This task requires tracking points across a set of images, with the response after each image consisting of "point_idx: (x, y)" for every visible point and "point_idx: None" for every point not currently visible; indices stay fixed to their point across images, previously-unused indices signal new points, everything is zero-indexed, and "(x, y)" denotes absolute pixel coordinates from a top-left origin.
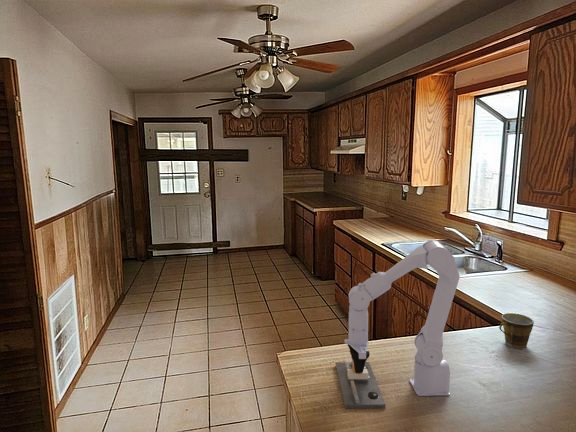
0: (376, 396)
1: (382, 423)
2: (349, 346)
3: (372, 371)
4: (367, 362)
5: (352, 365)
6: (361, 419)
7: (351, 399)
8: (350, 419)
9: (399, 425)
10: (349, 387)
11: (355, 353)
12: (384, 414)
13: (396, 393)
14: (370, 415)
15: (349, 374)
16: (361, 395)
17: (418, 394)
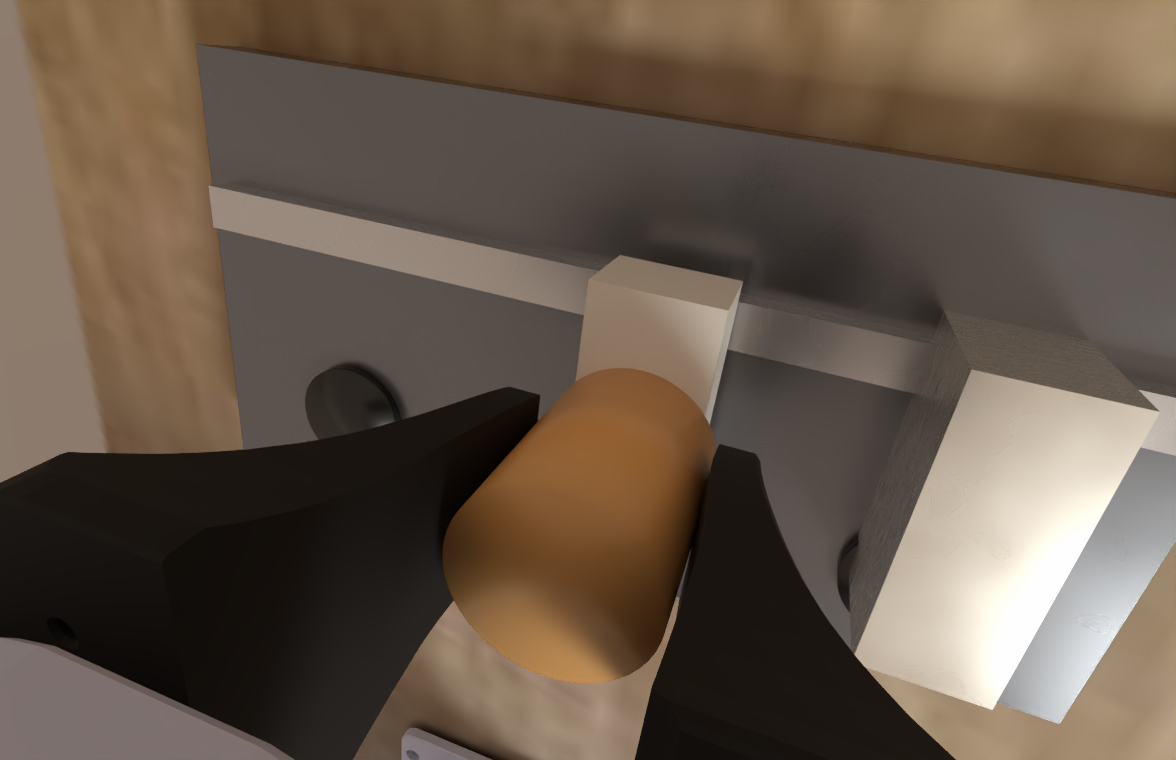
0: (321, 433)
1: (114, 323)
2: (649, 707)
3: None
4: (1056, 703)
5: (630, 417)
6: (126, 168)
7: (287, 153)
8: (109, 55)
9: (117, 428)
10: (508, 213)
11: (7, 609)
12: (207, 389)
13: (456, 618)
14: (182, 271)
15: (593, 290)
16: (354, 297)
17: (403, 737)
